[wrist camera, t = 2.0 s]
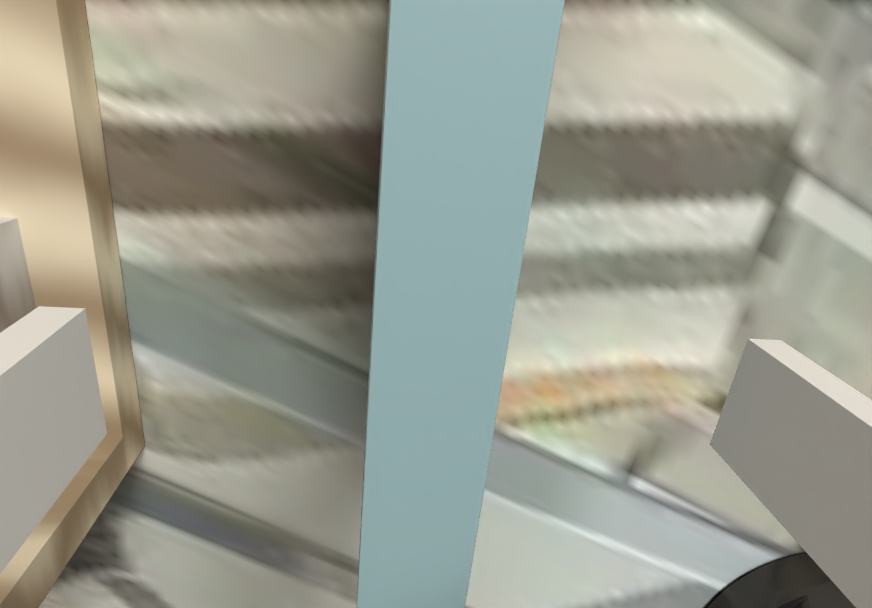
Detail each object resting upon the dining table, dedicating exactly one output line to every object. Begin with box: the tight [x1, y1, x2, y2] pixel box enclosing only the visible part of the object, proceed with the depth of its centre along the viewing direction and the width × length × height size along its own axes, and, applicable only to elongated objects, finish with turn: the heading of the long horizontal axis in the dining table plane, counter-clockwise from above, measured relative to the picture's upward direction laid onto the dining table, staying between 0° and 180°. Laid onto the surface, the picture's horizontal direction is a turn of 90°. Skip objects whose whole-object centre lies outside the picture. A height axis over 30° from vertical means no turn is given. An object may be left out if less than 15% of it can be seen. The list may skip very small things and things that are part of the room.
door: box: [357, 0, 565, 608], centre depth 18 cm, size 20×3×14 cm, turn 175°
